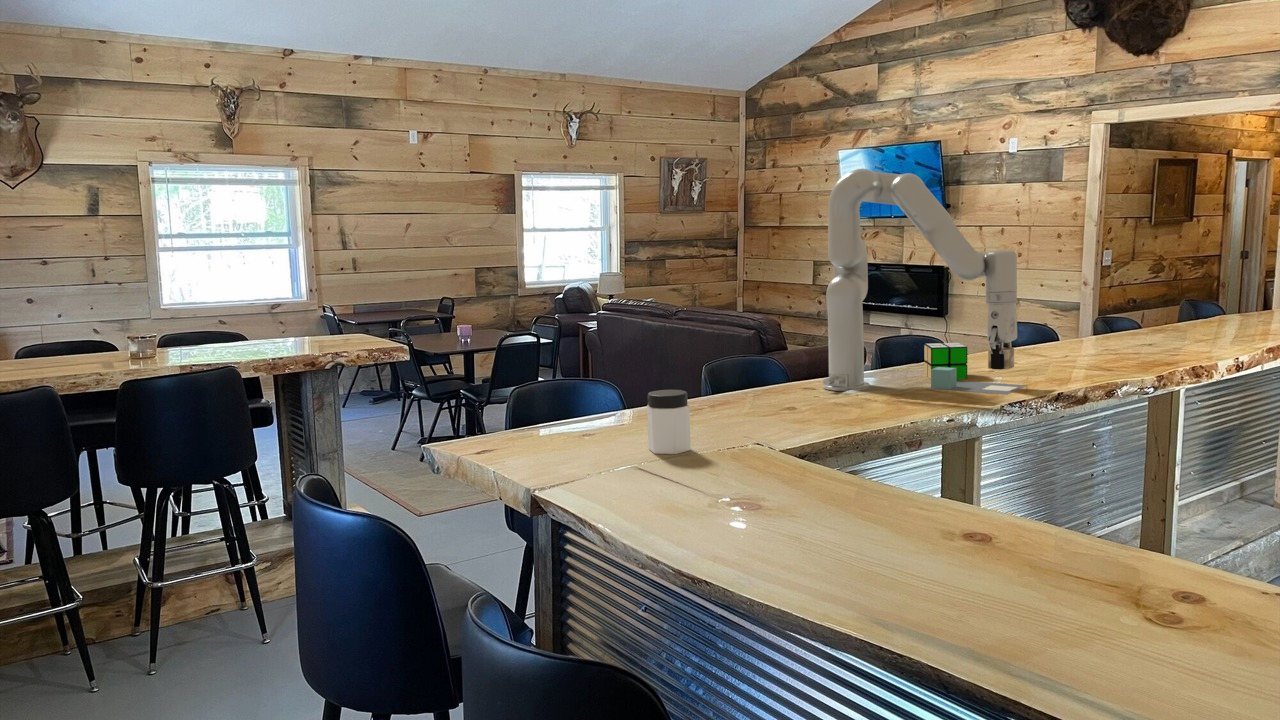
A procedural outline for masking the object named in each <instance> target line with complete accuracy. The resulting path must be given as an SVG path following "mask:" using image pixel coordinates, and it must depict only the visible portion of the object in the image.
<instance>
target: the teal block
mask: <svg viewBox="0 0 1280 720" xmlns="http://www.w3.org/2000/svg"><path fill="white" fill-rule="evenodd" d="M956 381H957V379H956V368H946V367H937V368H934V369H931V379H930V387H931V388H939V389H951V388H954V387H956Z"/></svg>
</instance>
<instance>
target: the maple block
mask: <svg viewBox="0 0 1280 720" xmlns="http://www.w3.org/2000/svg"><path fill="white" fill-rule="evenodd" d="M999 348H1000V347H999ZM987 350H988V351H987V352H988V353H987V355H988V356H987V357H988V358H987V360H988V365H987V368H988V369H990V370H992V369H991V348H988V349H987ZM1003 354H1004V369H1003V370H1011V369H1012V368H1014V367H1015V347H1012V348H1003Z"/></svg>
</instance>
